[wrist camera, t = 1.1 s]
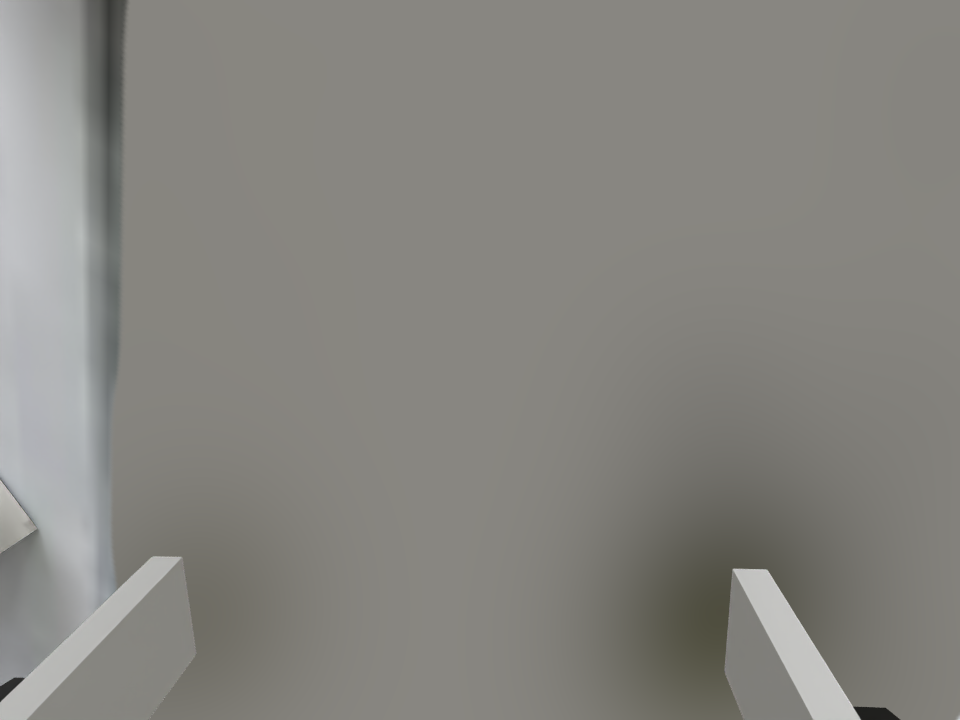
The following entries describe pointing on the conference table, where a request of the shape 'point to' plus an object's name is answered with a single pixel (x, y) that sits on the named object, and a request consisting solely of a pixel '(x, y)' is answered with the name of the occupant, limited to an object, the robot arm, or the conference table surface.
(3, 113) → the conference table surface
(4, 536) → the tub
